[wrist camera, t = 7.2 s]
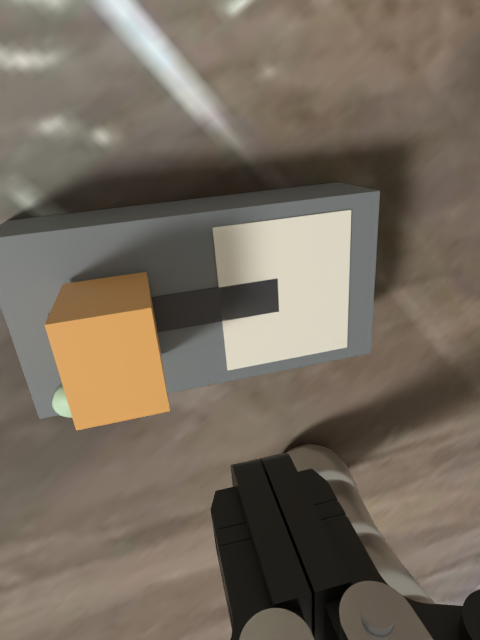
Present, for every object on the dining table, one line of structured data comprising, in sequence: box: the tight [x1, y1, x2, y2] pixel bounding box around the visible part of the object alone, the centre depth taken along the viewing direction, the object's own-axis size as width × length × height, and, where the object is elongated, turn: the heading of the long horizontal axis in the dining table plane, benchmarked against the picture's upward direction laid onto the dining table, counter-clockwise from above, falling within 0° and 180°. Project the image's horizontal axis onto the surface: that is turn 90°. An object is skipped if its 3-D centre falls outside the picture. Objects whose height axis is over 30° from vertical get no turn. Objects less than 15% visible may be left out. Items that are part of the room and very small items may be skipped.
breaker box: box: [0, 182, 380, 419], centre depth 25 cm, size 20×10×6 cm, turn 94°
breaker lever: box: [45, 272, 170, 430], centre depth 19 cm, size 4×5×5 cm
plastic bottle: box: [287, 444, 435, 604], centre depth 27 cm, size 6×7×20 cm
